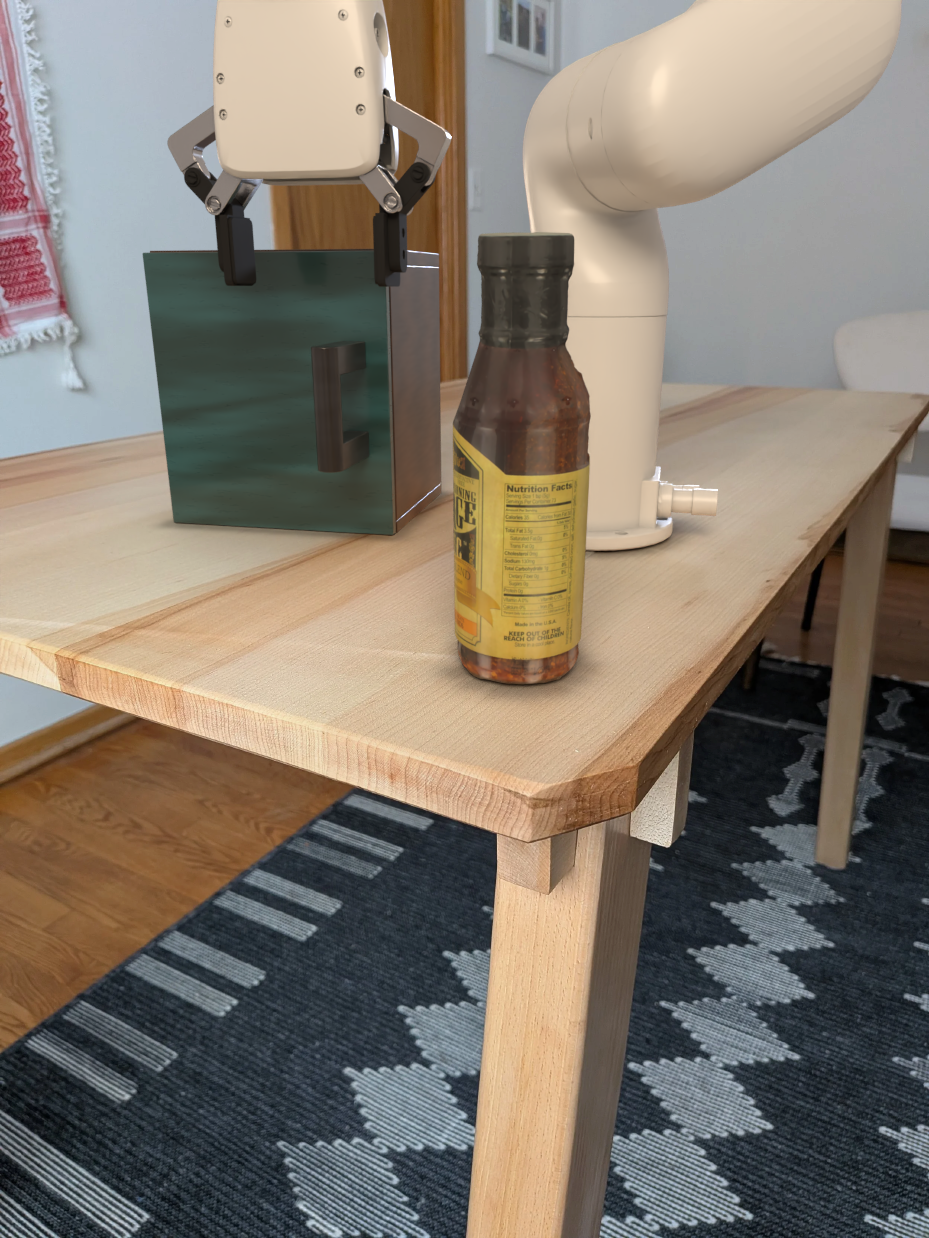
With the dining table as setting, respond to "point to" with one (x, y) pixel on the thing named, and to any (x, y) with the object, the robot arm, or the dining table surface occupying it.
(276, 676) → the dining table surface
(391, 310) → the cupboard
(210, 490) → the cupboard door
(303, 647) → the dining table surface
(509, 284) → the sauce bottle
